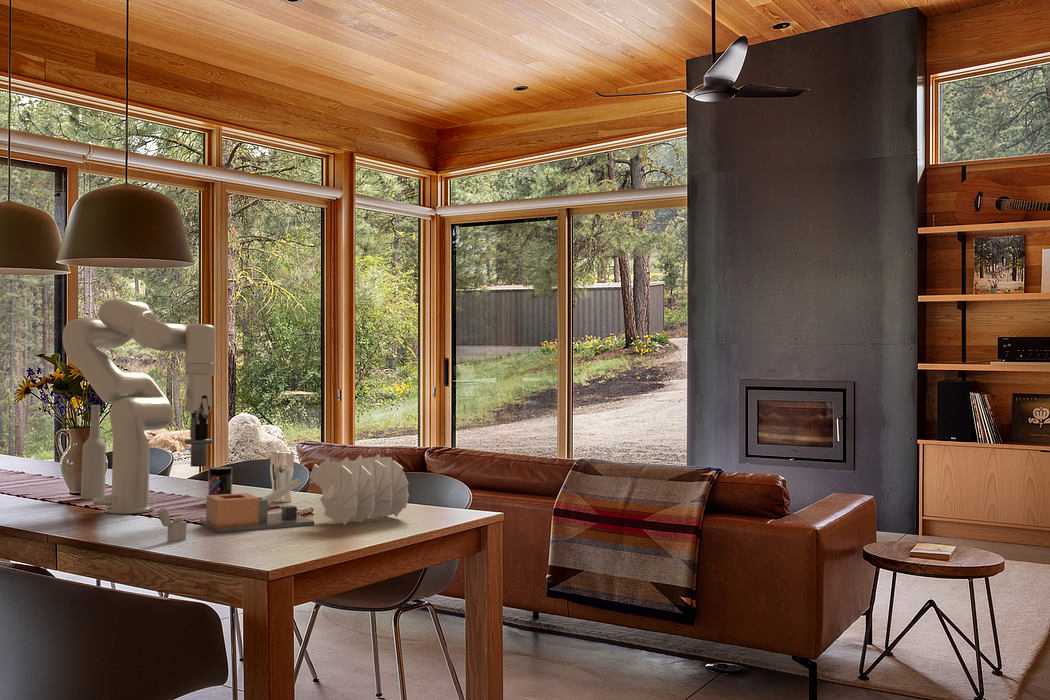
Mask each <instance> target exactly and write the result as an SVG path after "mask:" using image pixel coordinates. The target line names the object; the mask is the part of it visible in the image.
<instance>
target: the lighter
mask: <svg viewBox="0 0 1050 700" xmlns="http://www.w3.org/2000/svg"><path fill="white" fill-rule="evenodd" d="M156 512H157V515H158V517H159V520H160V521H161V525H162V526H163V527H166V528H167V542H168V543H175V542H182V541H187V524H188V523H187V522H188V521H185V520H183V518H182V517H173V518H172V520H171V517H170V515H169V513H168V510H167V508H164V507H161V508H159V509H158V510H157V511H156Z"/></svg>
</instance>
